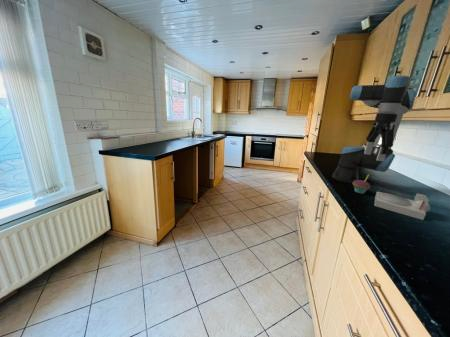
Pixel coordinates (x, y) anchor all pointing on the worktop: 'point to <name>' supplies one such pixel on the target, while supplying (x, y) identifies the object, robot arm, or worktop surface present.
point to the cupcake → (361, 185)
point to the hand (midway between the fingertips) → (373, 157)
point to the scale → (403, 204)
